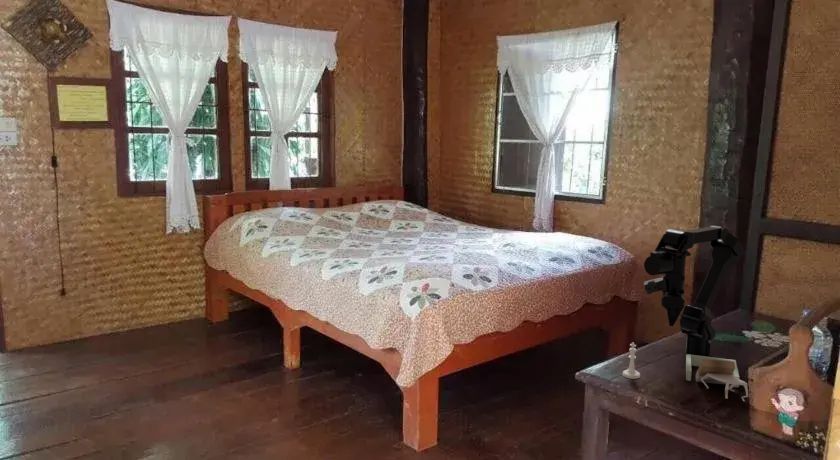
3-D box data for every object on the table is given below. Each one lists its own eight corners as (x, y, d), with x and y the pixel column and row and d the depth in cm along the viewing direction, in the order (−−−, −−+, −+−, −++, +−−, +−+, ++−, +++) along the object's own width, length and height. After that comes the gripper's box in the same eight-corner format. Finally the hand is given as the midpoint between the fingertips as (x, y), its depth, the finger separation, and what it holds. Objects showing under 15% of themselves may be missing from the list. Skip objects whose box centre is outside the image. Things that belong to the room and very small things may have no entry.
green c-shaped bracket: (686, 380, 178) (686, 370, 178) (685, 363, 190) (686, 354, 190) (738, 387, 173) (739, 377, 172) (734, 369, 185) (735, 360, 185)
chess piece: (626, 370, 185) (628, 338, 184) (642, 374, 182) (644, 342, 180) (619, 375, 181) (621, 343, 180) (636, 380, 178) (638, 346, 177)
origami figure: (748, 392, 170) (750, 375, 169) (747, 404, 163) (749, 386, 162) (700, 383, 176) (702, 367, 175) (697, 394, 169) (699, 377, 168)
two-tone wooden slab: (696, 381, 177) (703, 365, 169) (695, 375, 178) (702, 359, 170) (726, 384, 175) (735, 368, 167) (725, 377, 176) (734, 361, 168)
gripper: (647, 263, 198) (645, 310, 201) (644, 276, 181) (641, 327, 184) (685, 265, 194) (682, 314, 197) (686, 279, 177) (682, 332, 180)
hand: (671, 321), depth 189 cm, fingers open, 9 cm apart
